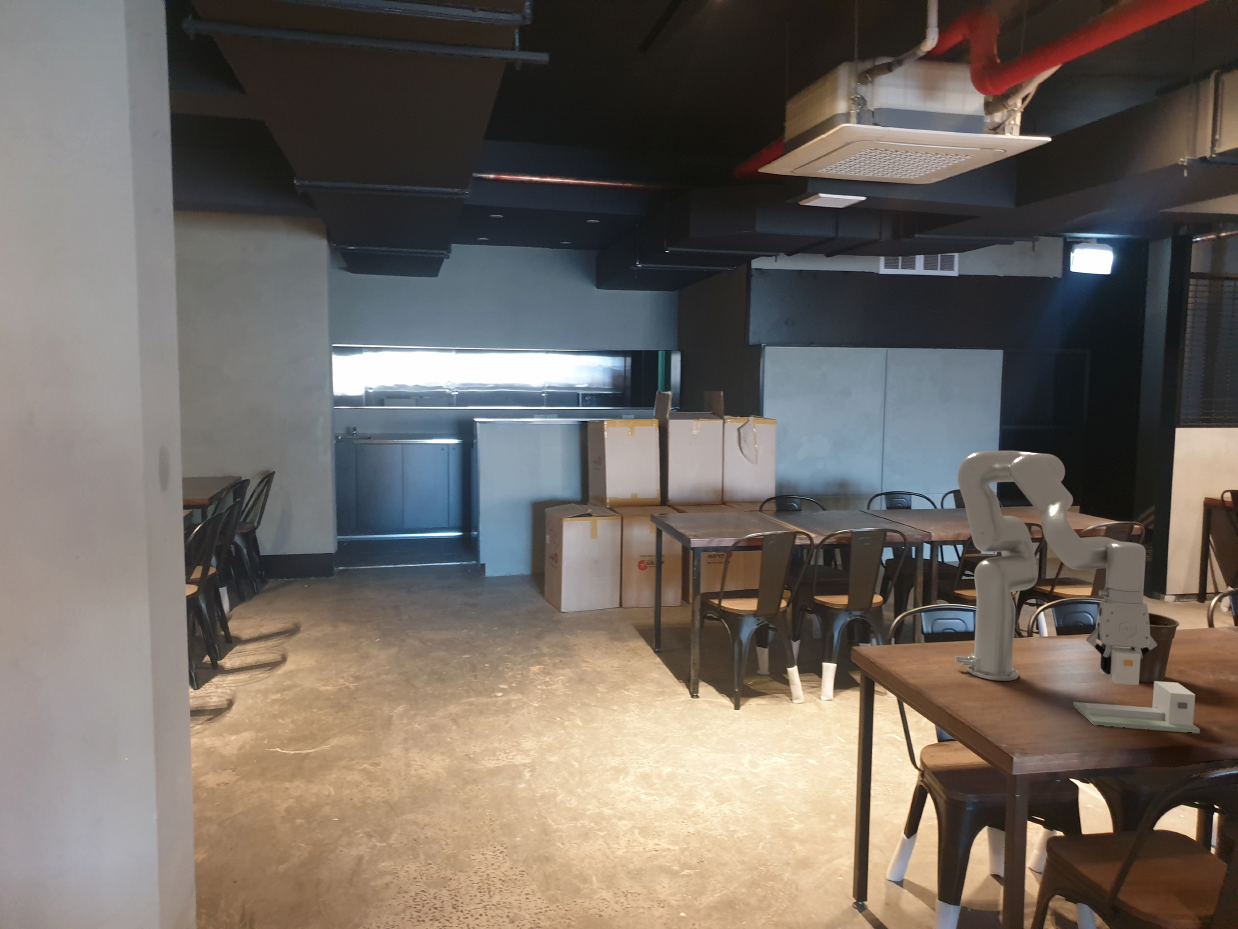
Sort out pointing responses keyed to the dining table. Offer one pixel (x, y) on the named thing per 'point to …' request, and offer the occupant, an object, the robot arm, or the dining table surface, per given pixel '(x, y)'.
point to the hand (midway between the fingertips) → (1119, 672)
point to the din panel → (1134, 722)
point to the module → (1124, 665)
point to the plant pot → (1158, 648)
